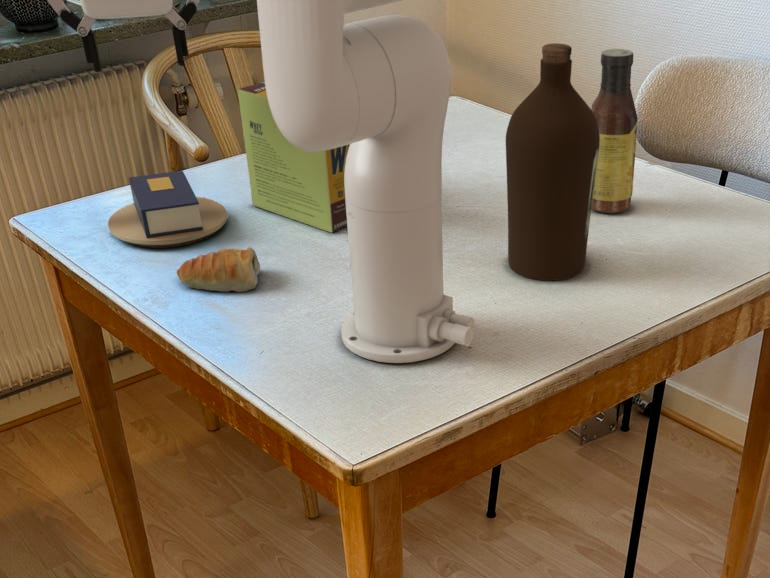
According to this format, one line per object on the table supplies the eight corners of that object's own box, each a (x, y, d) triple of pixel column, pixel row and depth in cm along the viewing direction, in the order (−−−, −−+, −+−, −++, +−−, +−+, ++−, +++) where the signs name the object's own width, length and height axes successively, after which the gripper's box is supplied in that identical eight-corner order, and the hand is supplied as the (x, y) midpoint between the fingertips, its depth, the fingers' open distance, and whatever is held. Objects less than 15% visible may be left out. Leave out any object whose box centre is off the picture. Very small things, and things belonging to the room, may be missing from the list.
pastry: (176, 296, 116) (170, 265, 113) (183, 271, 121) (177, 241, 119) (258, 292, 116) (254, 261, 114) (262, 267, 122) (258, 237, 119)
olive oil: (514, 287, 118) (520, 62, 103) (494, 250, 126) (497, 37, 111) (601, 279, 120) (619, 57, 104) (576, 243, 128) (590, 32, 112)
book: (238, 234, 128) (233, 201, 125) (116, 252, 123) (108, 218, 120) (215, 193, 139) (210, 162, 136) (102, 209, 134) (95, 177, 131)
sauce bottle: (639, 210, 136) (655, 55, 124) (599, 218, 134) (612, 61, 122) (614, 194, 141) (627, 43, 129) (575, 201, 139) (585, 49, 127)
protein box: (333, 234, 130) (322, 111, 120) (251, 206, 137) (235, 88, 128) (387, 209, 136) (380, 91, 127) (306, 184, 144) (294, 70, 134)
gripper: (22, -90, 106) (63, 80, 116) (190, -97, 110) (215, 68, 120) (26, -99, 111) (65, 64, 122) (186, -105, 115) (210, 53, 126)
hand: (140, 66), depth 121 cm, fingers open, 9 cm apart
